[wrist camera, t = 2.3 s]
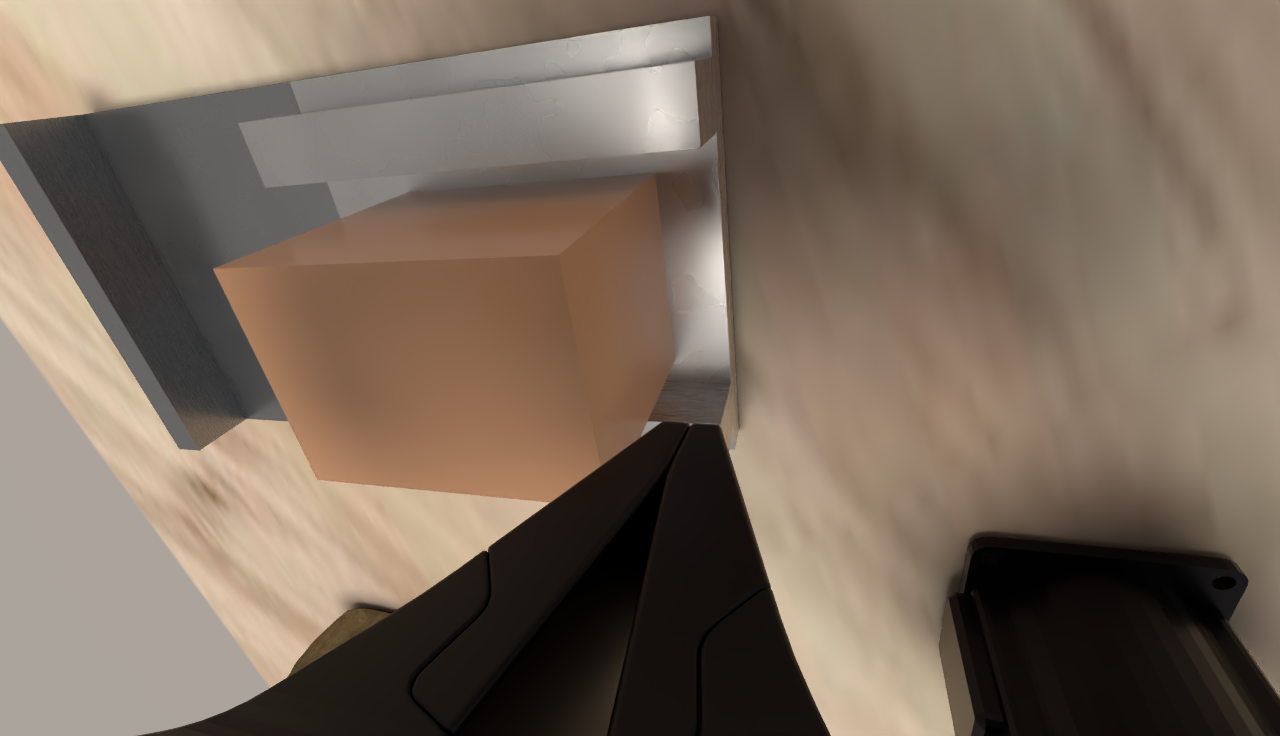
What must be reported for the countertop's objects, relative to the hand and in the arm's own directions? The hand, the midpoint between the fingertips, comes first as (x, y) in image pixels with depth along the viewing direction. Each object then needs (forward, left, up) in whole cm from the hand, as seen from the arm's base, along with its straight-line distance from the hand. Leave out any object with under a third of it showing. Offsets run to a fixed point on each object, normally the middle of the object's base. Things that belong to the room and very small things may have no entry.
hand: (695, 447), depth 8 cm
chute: (+11, 0, -8) cm, 13 cm away
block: (+6, 0, -7) cm, 9 cm away
